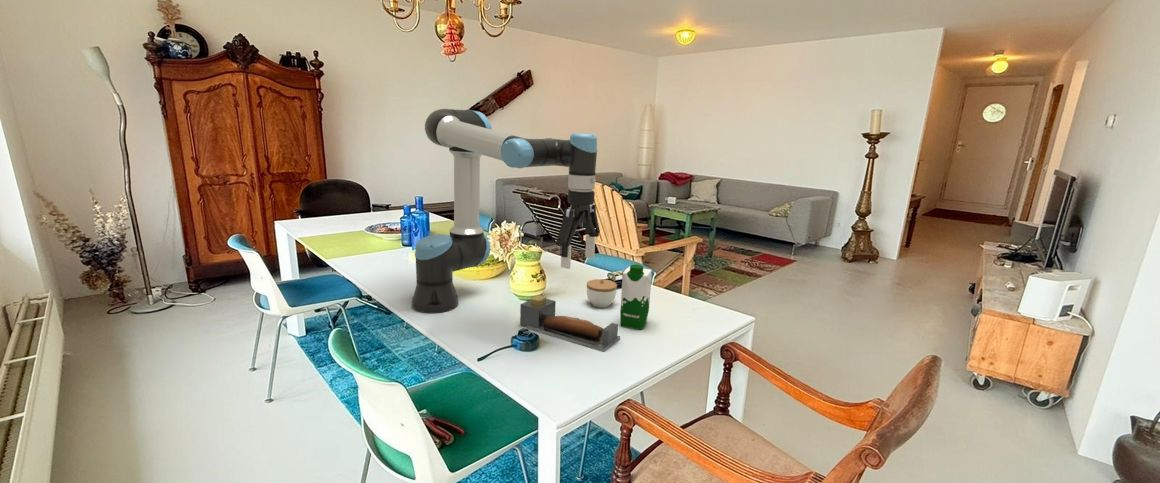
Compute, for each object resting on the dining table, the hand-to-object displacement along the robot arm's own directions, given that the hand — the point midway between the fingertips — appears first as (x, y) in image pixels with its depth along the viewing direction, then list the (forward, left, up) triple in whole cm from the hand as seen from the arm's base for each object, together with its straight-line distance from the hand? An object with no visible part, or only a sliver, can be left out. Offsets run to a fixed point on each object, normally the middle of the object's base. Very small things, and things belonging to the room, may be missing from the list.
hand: (578, 262), depth 140 cm
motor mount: (-3, 0, -23) cm, 23 cm away
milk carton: (+11, +18, -23) cm, 31 cm away
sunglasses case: (0, 0, -22) cm, 22 cm away
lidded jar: (-6, +27, -23) cm, 36 cm away
